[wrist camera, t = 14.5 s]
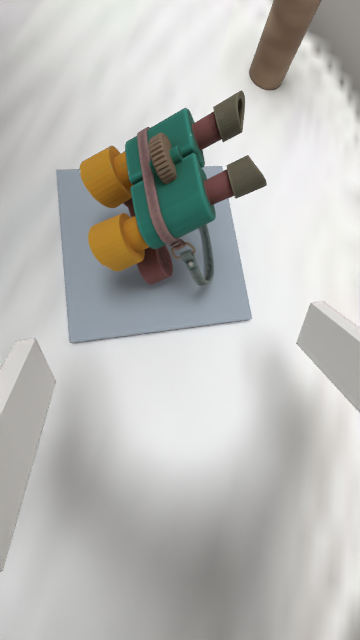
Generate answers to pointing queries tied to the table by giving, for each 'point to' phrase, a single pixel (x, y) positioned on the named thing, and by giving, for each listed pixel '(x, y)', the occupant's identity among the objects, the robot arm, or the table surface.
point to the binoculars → (166, 191)
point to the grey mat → (129, 286)
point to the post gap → (281, 40)
